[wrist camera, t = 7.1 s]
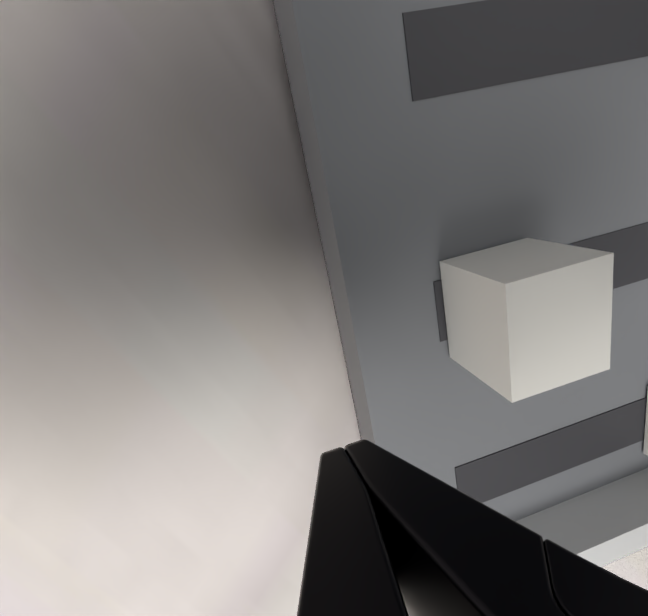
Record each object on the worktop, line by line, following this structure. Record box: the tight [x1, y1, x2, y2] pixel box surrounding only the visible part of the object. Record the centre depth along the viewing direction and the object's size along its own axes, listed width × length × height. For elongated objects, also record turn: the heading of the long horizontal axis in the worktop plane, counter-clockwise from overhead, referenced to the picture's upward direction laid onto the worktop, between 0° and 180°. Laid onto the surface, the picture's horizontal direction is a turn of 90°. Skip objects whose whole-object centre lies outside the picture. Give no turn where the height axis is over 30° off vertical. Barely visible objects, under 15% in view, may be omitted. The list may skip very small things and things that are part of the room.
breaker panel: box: [273, 0, 648, 567], centre depth 14 cm, size 22×17×4 cm
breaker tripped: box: [439, 238, 614, 403], centre depth 12 cm, size 3×3×3 cm
